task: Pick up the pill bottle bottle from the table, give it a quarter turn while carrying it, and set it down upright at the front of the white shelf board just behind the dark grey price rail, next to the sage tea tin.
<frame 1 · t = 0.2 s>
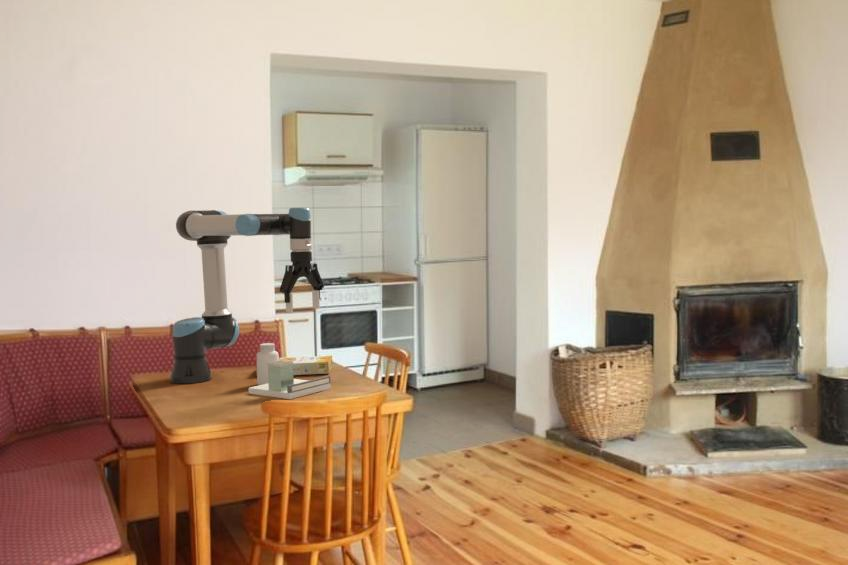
hand: (303, 310, 296), 27 cm above the table, fingers open, 13 cm apart
cereal box: (295, 373, 328), on the table
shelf: (290, 391, 289), on the table
tea tin: (281, 388, 282), point 2 cm above the table, touching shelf
pill bottle: (268, 385, 302), on the table
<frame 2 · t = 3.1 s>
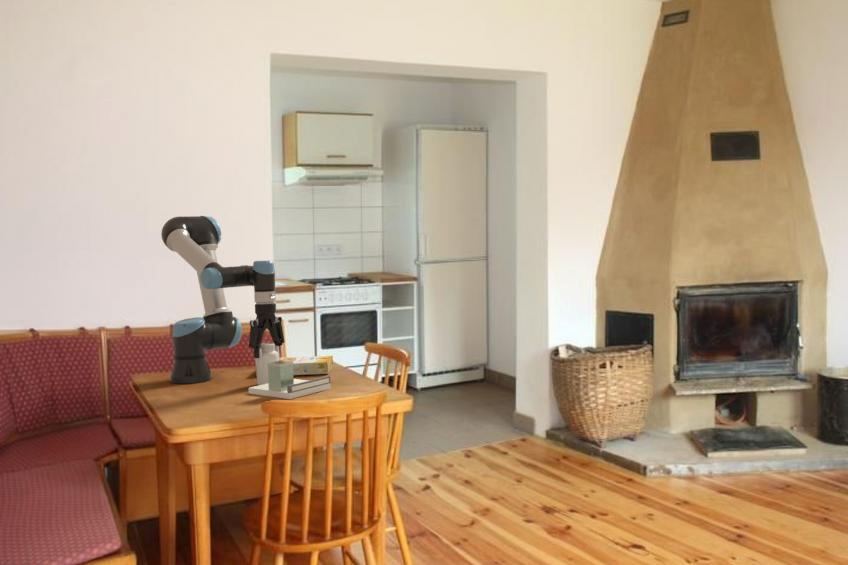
hand: (267, 364, 302), 7 cm above the table, fingers closed on pill bottle, 8 cm apart
pill bottle: (268, 385, 302), on the table, touching gripper
everything else where it was.
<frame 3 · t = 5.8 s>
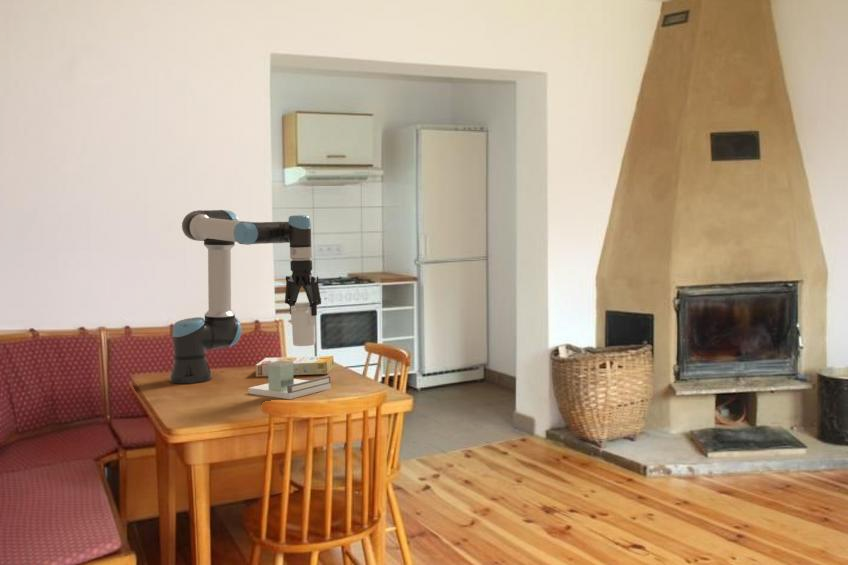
hand: (303, 324, 289), 23 cm above the table, fingers closed on pill bottle, 8 cm apart
pill bottle: (304, 345, 290), point 16 cm above the table, touching gripper
everything else where it was.
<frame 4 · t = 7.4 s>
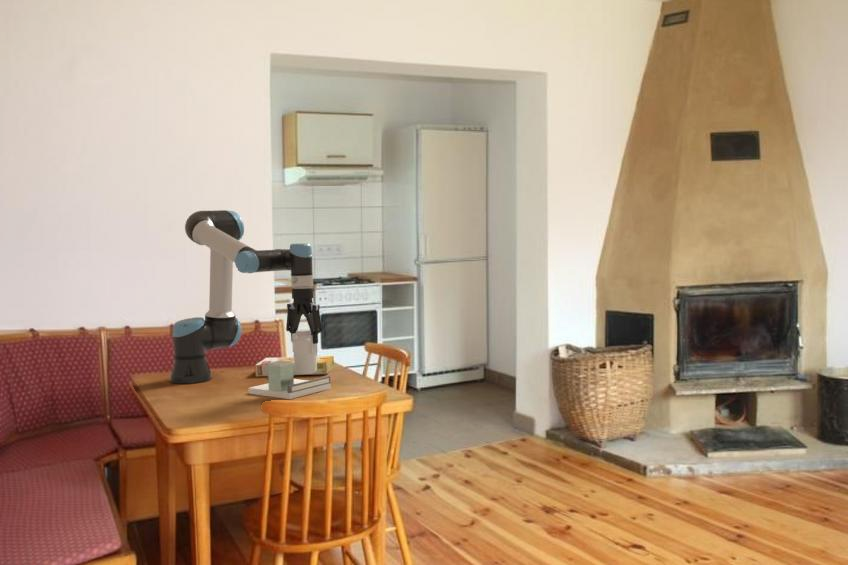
hand: (304, 352, 290), 13 cm above the table, fingers closed on pill bottle, 8 cm apart
pill bottle: (305, 373, 290), point 6 cm above the table, touching gripper
everything else where it was.
when the fingers open (10 cm above the table, at t = 8.5 s): pill bottle stays where it is, resting on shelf.
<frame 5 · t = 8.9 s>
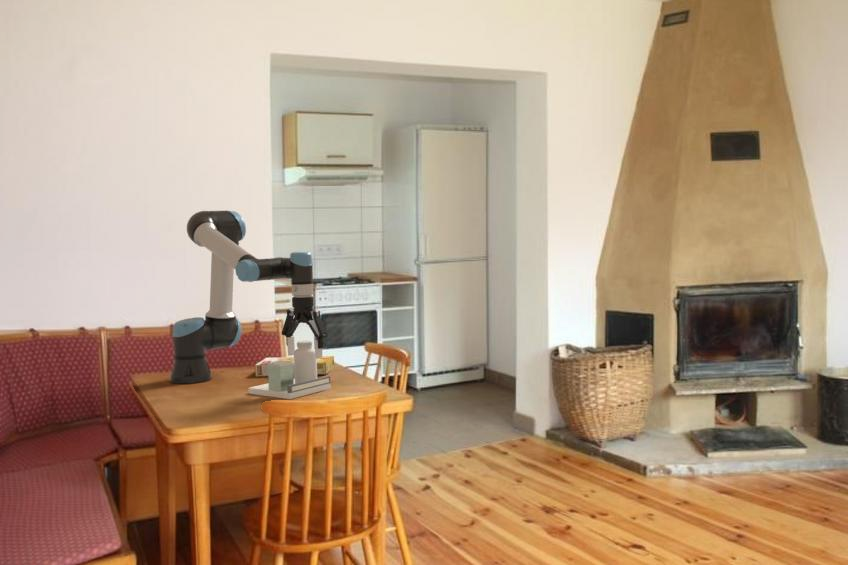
hand: (305, 356, 290), 12 cm above the table, fingers open, 13 cm apart
pill bottle: (306, 384, 291), point 2 cm above the table, touching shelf
everything else where it was.
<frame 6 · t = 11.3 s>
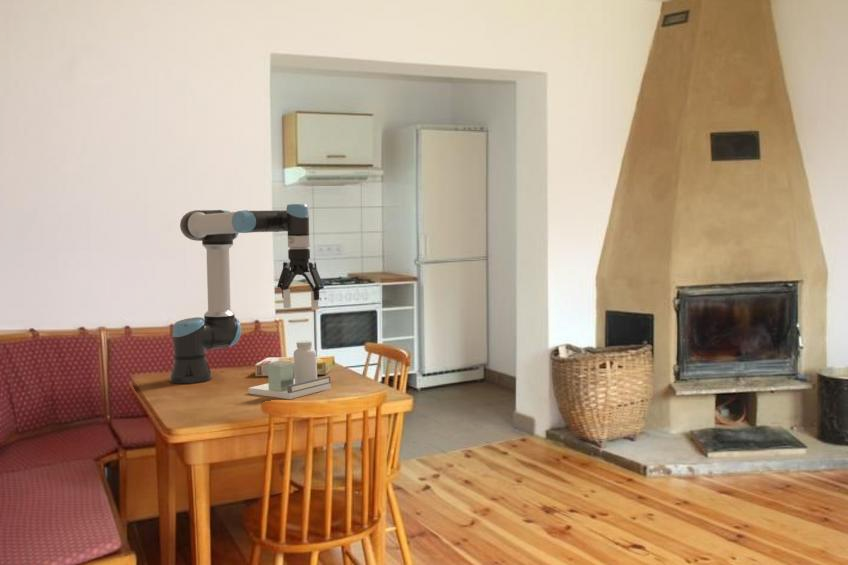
hand: (300, 308, 290), 28 cm above the table, fingers open, 13 cm apart
nothing on the table moved.
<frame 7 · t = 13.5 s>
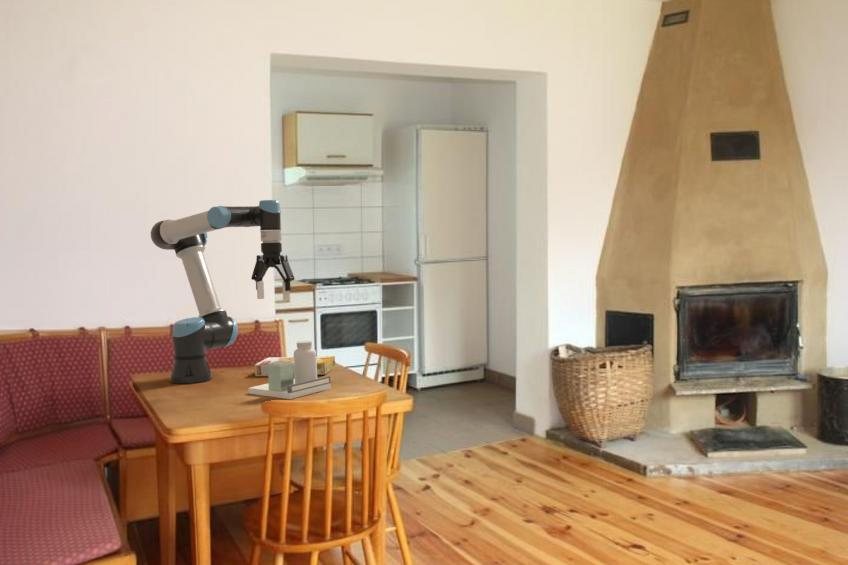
hand: (273, 299, 306), 31 cm above the table, fingers open, 13 cm apart
at the end: pill bottle inside the target area on the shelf (0.6 cm from its centre), point 1.8 cm above the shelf's base; pill bottle tilted 0°; the gripper is holding nothing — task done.
